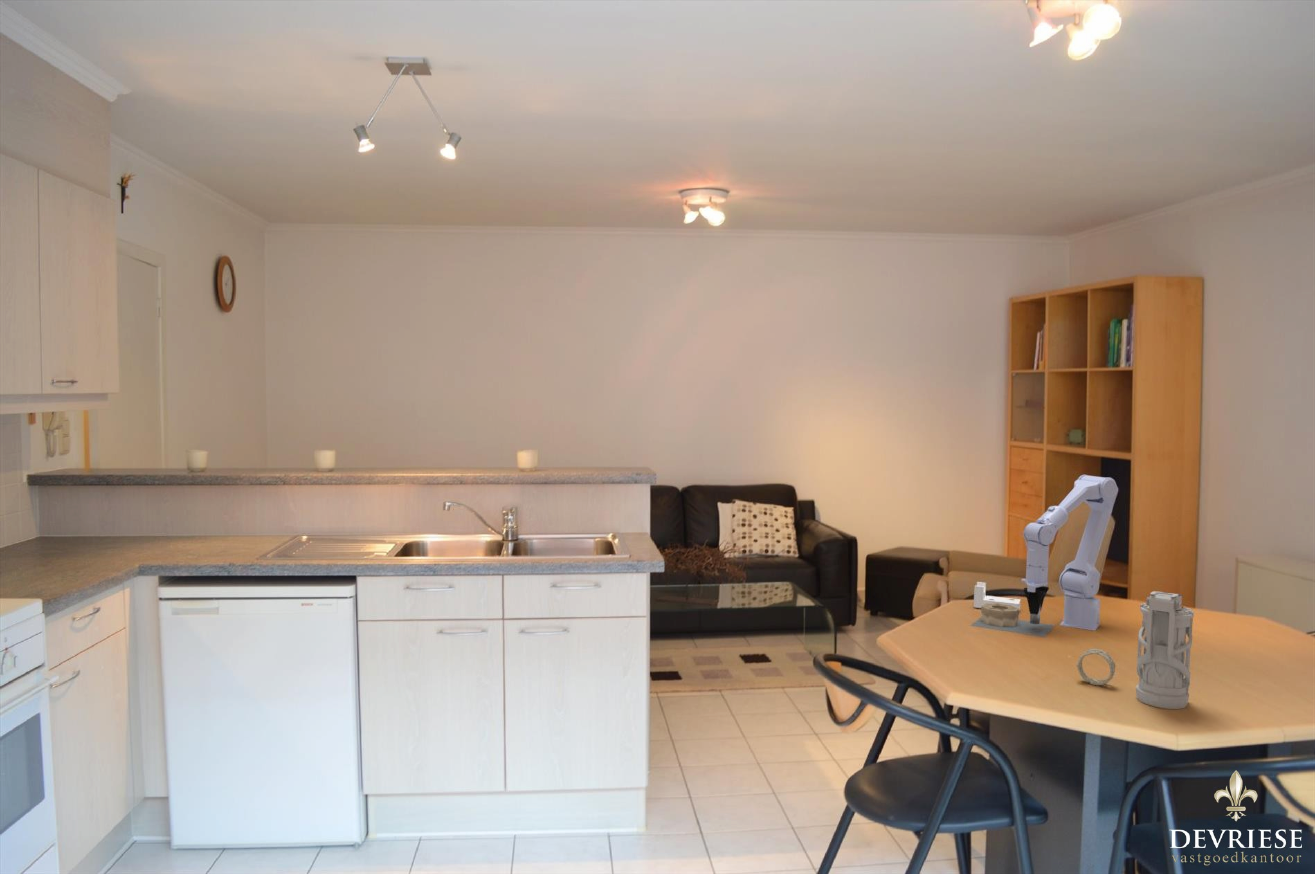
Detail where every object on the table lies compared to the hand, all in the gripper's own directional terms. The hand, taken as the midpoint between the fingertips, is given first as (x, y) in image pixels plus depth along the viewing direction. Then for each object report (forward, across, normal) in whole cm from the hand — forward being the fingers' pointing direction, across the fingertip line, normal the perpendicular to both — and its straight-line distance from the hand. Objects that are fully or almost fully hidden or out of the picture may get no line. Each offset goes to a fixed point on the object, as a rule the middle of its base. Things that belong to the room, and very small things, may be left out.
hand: (1035, 612), depth 268 cm
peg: (+3, 0, 0) cm, 3 cm away
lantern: (+5, +49, +36) cm, 61 cm away
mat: (+5, -1, -6) cm, 8 cm away
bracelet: (+5, +43, +22) cm, 49 cm away
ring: (+5, -2, -10) cm, 11 cm away
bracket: (+6, -20, -15) cm, 26 cm away
